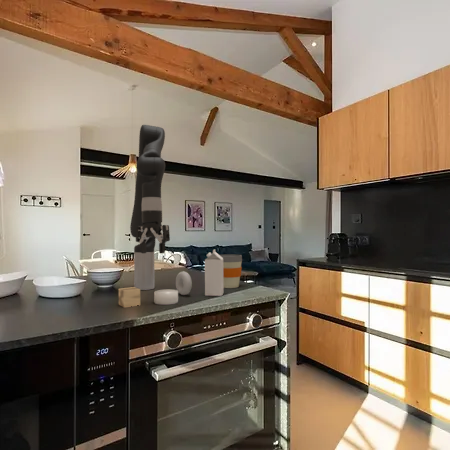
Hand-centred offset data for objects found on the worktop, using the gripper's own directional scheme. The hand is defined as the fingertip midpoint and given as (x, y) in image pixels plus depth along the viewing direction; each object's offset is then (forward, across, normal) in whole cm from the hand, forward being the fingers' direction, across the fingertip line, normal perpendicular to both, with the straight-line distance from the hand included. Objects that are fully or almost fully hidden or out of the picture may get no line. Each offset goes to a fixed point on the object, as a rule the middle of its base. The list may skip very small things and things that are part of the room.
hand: (152, 253), depth 127 cm
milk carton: (+19, -11, -26) cm, 34 cm away
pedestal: (+19, -2, -5) cm, 20 cm away
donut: (+19, 0, -19) cm, 27 cm away
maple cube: (+19, +7, +5) cm, 21 cm away
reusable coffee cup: (+19, -8, -47) cm, 51 cm away
